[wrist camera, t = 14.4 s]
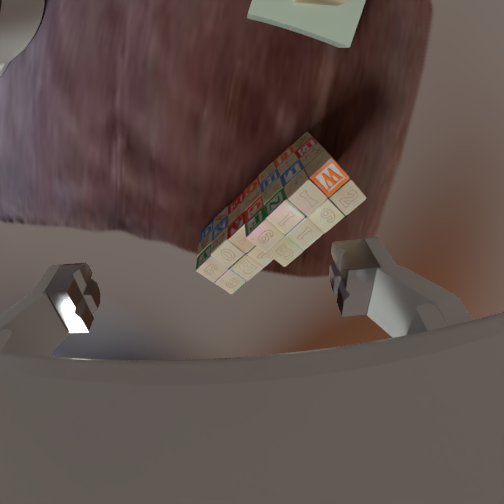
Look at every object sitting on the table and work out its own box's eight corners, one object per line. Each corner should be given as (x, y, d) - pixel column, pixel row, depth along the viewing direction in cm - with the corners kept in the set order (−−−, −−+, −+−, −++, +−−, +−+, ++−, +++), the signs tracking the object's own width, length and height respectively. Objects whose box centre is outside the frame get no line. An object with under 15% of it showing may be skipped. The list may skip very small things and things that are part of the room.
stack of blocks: (231, 255, 50) (230, 311, 40) (199, 232, 48) (191, 286, 38) (336, 161, 42) (368, 199, 32) (307, 129, 40) (333, 157, 30)
